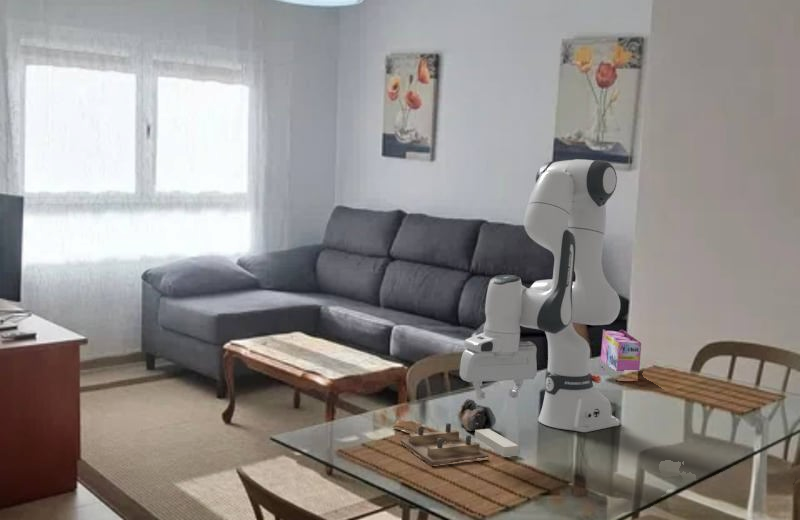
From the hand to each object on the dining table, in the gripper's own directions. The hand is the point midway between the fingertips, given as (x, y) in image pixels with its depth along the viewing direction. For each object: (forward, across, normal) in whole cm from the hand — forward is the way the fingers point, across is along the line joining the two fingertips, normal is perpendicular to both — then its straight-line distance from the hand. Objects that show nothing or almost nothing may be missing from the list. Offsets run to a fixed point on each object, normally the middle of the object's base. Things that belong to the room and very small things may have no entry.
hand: (496, 398), depth 214 cm
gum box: (+10, -85, -57) cm, 103 cm away
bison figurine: (+13, -3, -16) cm, 21 cm away
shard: (+13, +12, -19) cm, 27 cm away
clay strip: (+13, -1, 0) cm, 13 cm away
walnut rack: (+13, +13, -1) cm, 19 cm away
